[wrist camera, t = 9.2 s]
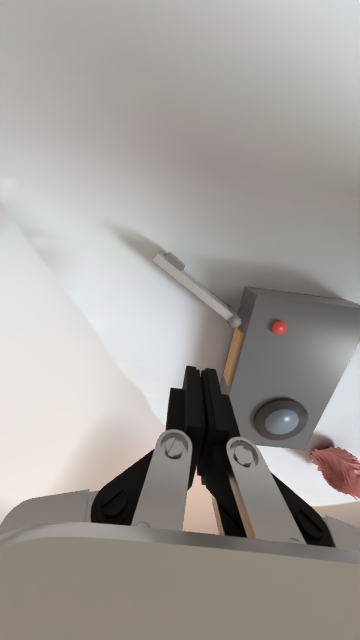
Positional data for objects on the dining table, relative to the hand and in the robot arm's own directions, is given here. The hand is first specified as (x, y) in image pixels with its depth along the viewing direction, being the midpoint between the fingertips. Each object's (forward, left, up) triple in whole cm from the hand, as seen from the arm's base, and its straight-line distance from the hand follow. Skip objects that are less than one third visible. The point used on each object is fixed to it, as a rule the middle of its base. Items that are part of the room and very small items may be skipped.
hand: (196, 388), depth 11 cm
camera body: (-12, +6, -13) cm, 19 cm away
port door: (-1, -4, -13) cm, 14 cm away
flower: (-26, +21, -14) cm, 36 cm away
